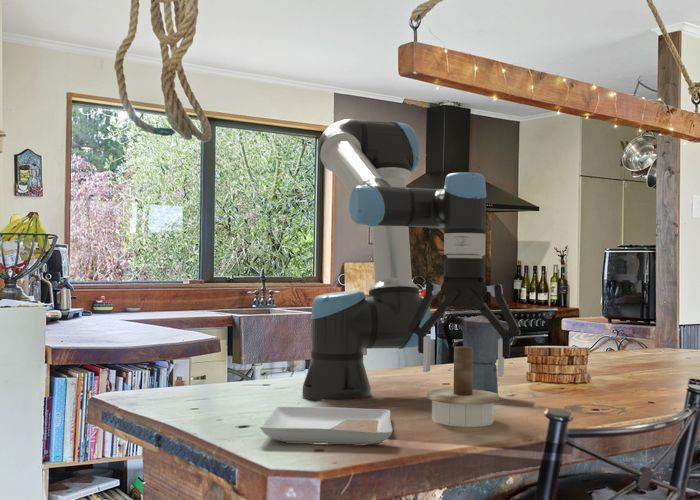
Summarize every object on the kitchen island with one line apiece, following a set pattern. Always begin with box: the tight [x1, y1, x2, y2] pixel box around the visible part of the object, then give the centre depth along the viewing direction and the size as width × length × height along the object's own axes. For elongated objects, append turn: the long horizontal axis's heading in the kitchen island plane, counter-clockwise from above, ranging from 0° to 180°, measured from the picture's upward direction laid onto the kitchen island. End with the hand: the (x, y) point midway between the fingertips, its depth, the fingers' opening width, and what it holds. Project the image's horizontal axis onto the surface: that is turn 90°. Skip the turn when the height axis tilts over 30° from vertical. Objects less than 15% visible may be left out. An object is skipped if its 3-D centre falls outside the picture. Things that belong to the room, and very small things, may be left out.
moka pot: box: [442, 311, 510, 395], centre depth 177 cm, size 10×15×20 cm, turn 78°
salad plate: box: [259, 406, 393, 445], centre depth 134 cm, size 21×21×3 cm
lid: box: [426, 346, 500, 405], centre depth 143 cm, size 13×13×9 cm
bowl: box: [431, 400, 495, 428], centre depth 143 cm, size 11×11×5 cm
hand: (463, 373), depth 143 cm, fingers open, 13 cm apart
